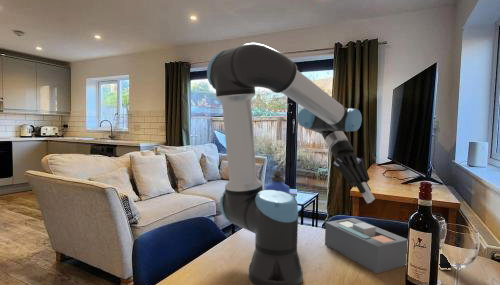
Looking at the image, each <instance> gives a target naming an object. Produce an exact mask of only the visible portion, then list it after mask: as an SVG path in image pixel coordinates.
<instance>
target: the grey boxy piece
mask: <svg viewBox="0 0 500 285" xmlns="http://www.w3.org/2000/svg"><path fill="white" fill-rule="evenodd" d="M345 221H349V222H351V223H354V224H357V223H362V222H364V221H362V220H360V219H357V218H355V217H350V218H343V219H338V220H337V219H336V220H331V221H325V230H324V231H325V232H324V233H325V234H324V235H325V236H324V244H325V245H326V246H327V247H329V248H331V249H332V250H335V251H336V252H338V253H340V254H342V255H344V256H345V257H347V258H348V259H351V260H352V261H353V262H356V263H357V264H358V265H360V266H363V267H365V269H368V270H370V271H371V272H373V273H375V274H380V273H385V272H388V271H390V270H395V269H398V268H401V267H406V266H405V264H406V254H407V237H403V236H400V235H398V234H395V233H393V232H391V231H390V232H389V231H388V230H385V229H382V228H380V227H378V226H375V227H376V230H375V237H376V236H380V235H382V236H385V237H387V238H389V239H392V240H394V241H391V242H386V243H382V242H380V241H378V240H376V239H373V238H371V237H369V236H367V235H364V234H362V233H360V232H358V231H355V230H353V229H351V228H349V227H346V226H344V225H342V224H340V223H339V222H345ZM366 223H367V224H369V223H368V222H366ZM371 225H372V226H374V225H373V224H371Z"/></svg>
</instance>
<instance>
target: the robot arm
mask: <svg viewBox="0 0 500 285" xmlns="http://www.w3.org/2000/svg"><path fill="white" fill-rule="evenodd" d="M206 77H207V81H208V83H209V85H211V87H212V88H213V90H215V97H216V98H217V99H218V101H220V102H221V104H222V106H221V107H222V115H223V116H222V118H223V127H224V139H225V140H224V141H225V148H226V149H225V150H226V159H227V160H226V162H227V171H228V181H227V183H226V184H225V185H224V191H223V193H222V196H220V200H219V209H220V212H221V215H222V216H223V217H224V219H225V220H226V221H228V222H229V223H231V224H233V225H234V226H237V227H240V228H241V229H244V230H247V231H248V232H251V233H254V235H255V240H254V243H255V244H254V245H255V246H254V251H253V254H252V258H251V261H250V264H249V266H248V279H249V281H251V282H250V283H252V284H254V285H301V284H302V282H303V277H304V275H303V274H304V270H303V267H302V265H301V261H300V258H299V254H298V231H299V230H298V227H299V208H298V201H297V199H296V198H295V197H294V196H293V195H292V194H290V193H289V194H288V193H285V192H282V191H275V190H265V189H263V182H262V181H261V180H260V179H259V178H258V177H257V176H258V175H257V165H256V150H255V136H254V128H253V127H254V125H253V113H252V100H253V98H254V97H255V96H256V88H264V89H268V90H270V91H271V92H273V93H274V94H282V95H284V96H285V97H287V98H289V100H292V101H294V102H295V103H296V104H298V105H299V106H301V107H302V108H301V109H300V110H299V112H298V113H297V114H298V115H297V118H296V120H297V123H298V125H299V126H300V127H302V128H304V129H307V130H310V131H313V132H315V133H318V134H319V135H320V134H321V136H322V138H323V139H324V141H325V143H326V144H327V147H328V148H329V150H330V153H331V154H332V156H333V157H334V159H335V160H334V162H333V163H332V165H333V167H335V168H336V169H338V171H339V172H340V174H341V175H342V176H343V177H344V179H345V180H346V181H347V183H348V184H349V185H350V186H352V185H353V187H354V188H357V190H358V191H359V193H360V194H361V195H362V197H363V199H364V201H365V202H366V204H371V203H372V202H373V201H374V200H376V198H375V196H374V194H373V192H372V189H371V188H370V186H369V184H368V182H369V181H370V180H371V179H370V178H371V177H370V175H369V173H368V170H367V168H366V165H365V159H364V158H363V157H360V158H359V157H357V155H356V154H355V152H354V148H353V145H352V144H351V143H350V141H349V139H348V137H347V135H346V134H345V132H346V133H348V132H357V131H358V130H359V129H360V127H361V126H362V121H363V117H362V113H361V111H360V110H359V109H357V108H352V107H350V108H346V107H345V106H344V105H342V104H341V103H340V102H339V101H337V100H336V99H335V98H334V97H332V96H331V95H329V93H327V92H326V91H325V90H323V89H322V88H321V87H320V86H318V85H317V84H315V82H313V81H312V80H311V79H309V78H308V77H307V76H306V75H305V74H302V72H300V70H298V66H297V64H296V63H295V62H294V61H293V60H292V59H290V58H289V57H288V56H286V55H285V54H284V53H281V52H280V51H278V50H276V49H274V48H272V47H270V46H267V45H265V44H262V43H259V42H258V43H257V42H250V43H249V42H248V43H245V44H242V45H240V46H236V47H233V48H232V47H231V48H228V49H224V50H221V51H220V52H218V53H216V54H215V55H214V56H212V58H211V59H210V60H209V62H208V64H207V68H206Z"/></svg>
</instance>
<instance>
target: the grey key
mask: <svg viewBox="0 0 500 285" xmlns="http://www.w3.org/2000/svg"><path fill="white" fill-rule="evenodd" d="M367 223H368V222H366V221H363V222H362V223H357V224H353V230H355V231H358V232H360V233H362V234H364V235H367V236H369V237H375V230H376V227H377V226H375V225H373V224H370V223H368V224H367ZM372 225H373V226H372Z"/></svg>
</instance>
